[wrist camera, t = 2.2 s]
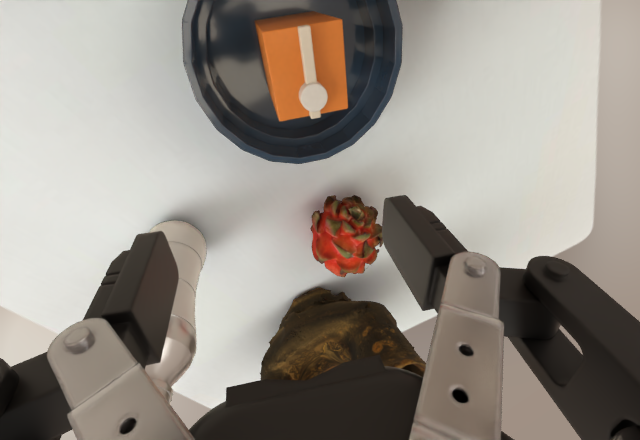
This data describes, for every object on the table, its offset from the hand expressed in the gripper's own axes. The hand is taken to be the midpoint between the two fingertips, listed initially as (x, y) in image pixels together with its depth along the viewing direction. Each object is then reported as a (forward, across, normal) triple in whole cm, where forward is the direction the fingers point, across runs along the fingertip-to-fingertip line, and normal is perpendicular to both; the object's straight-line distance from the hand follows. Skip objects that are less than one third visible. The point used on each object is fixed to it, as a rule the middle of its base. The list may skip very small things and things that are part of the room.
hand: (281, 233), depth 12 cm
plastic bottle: (+23, +11, +15) cm, 30 cm away
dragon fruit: (+23, -8, +16) cm, 30 cm away
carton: (+22, -3, -3) cm, 22 cm away
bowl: (+23, -3, -3) cm, 23 cm away
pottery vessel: (+24, -4, +33) cm, 41 cm away
